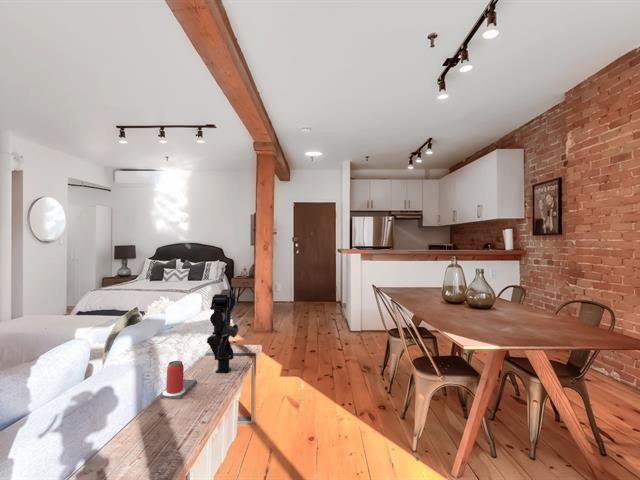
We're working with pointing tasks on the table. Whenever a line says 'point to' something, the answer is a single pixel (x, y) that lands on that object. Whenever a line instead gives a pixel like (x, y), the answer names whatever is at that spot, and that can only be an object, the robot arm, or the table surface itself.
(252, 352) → the table surface
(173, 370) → the beer can
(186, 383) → the charging dock
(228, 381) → the table surface
